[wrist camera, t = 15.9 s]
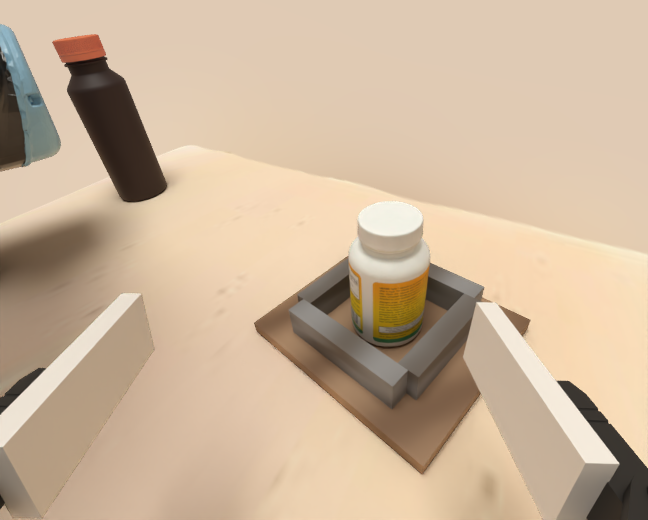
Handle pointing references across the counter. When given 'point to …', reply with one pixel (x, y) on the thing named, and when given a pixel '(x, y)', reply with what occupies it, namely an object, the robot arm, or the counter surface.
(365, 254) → the supplement bottle
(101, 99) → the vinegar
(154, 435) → the counter surface
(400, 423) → the collar board
